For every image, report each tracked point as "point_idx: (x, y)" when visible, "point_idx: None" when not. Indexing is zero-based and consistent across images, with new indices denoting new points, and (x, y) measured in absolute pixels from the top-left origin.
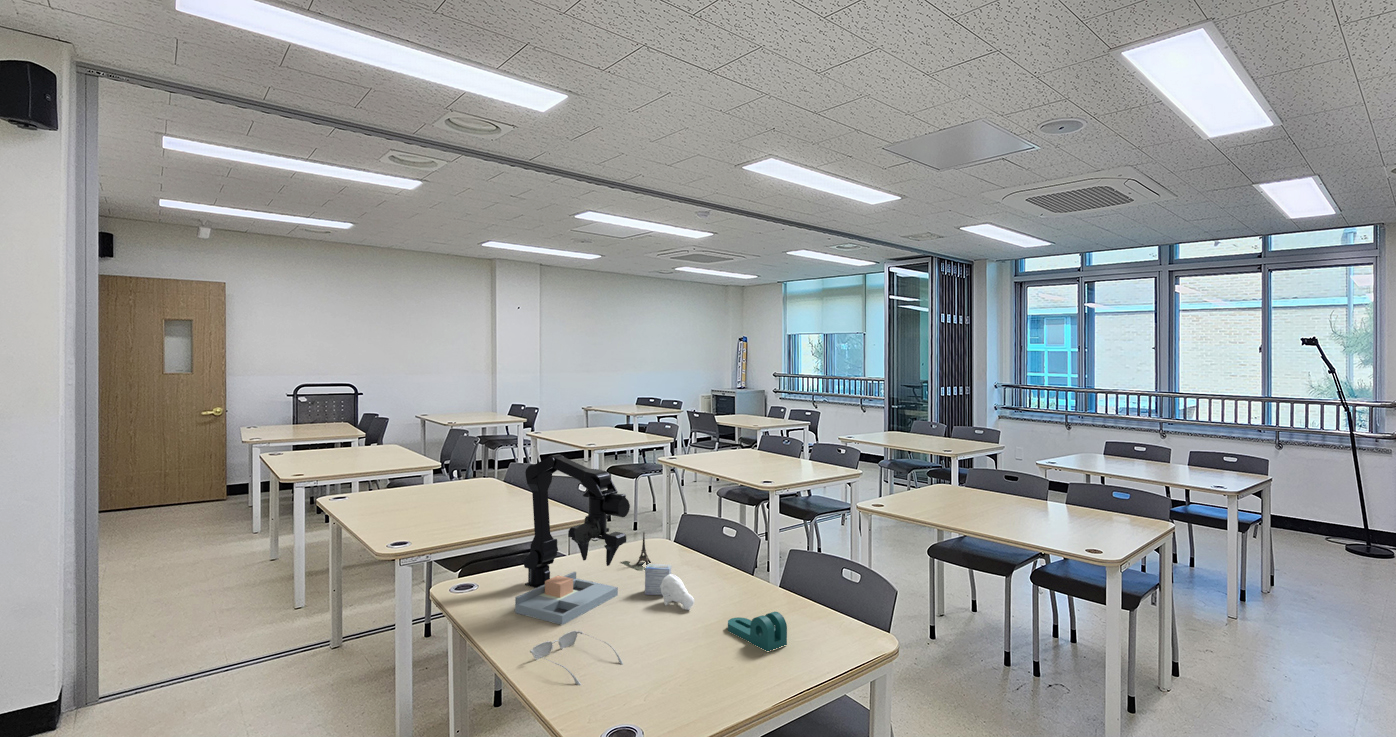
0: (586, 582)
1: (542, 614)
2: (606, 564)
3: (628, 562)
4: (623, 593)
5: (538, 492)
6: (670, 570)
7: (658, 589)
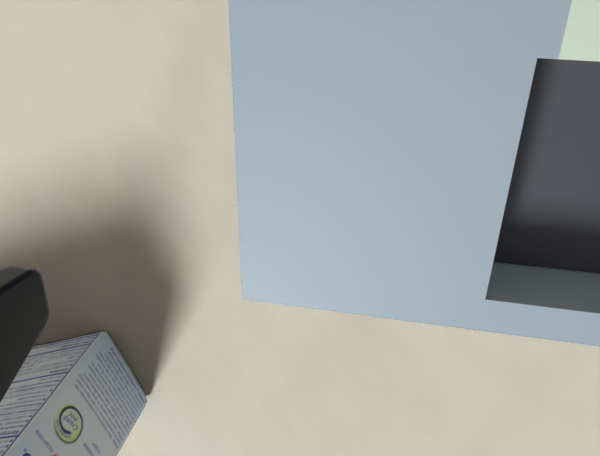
0: (596, 311)
1: None
2: (17, 275)
3: None
4: (246, 304)
5: None
6: None
7: None
